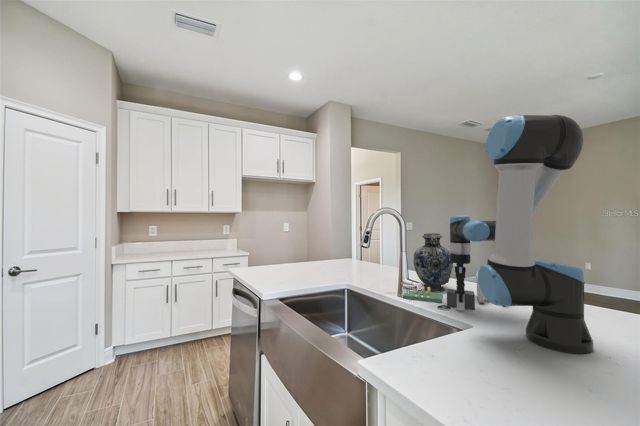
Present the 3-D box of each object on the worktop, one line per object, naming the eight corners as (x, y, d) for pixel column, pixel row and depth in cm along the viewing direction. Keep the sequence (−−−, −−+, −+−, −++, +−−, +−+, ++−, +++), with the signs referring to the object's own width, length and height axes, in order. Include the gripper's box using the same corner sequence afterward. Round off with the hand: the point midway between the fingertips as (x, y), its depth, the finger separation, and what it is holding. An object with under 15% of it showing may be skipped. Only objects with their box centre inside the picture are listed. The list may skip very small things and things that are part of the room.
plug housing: (473, 305, 117) (473, 291, 117) (474, 310, 112) (474, 294, 112) (447, 302, 122) (447, 288, 122) (446, 306, 116) (446, 292, 116)
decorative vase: (456, 295, 131) (455, 234, 132) (414, 293, 137) (413, 234, 138) (450, 285, 152) (449, 232, 152) (413, 283, 157) (412, 232, 158)
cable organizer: (508, 308, 114) (507, 279, 115) (478, 304, 119) (477, 276, 119) (502, 298, 128) (502, 272, 128) (475, 295, 133) (475, 270, 133)
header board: (441, 303, 121) (441, 291, 121) (402, 298, 127) (402, 287, 127) (442, 297, 130) (442, 286, 130) (406, 293, 136) (406, 282, 137)
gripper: (450, 249, 130) (450, 296, 130) (449, 256, 108) (449, 313, 107) (468, 250, 127) (469, 298, 126) (472, 257, 104) (472, 316, 104)
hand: (460, 305), depth 117 cm, fingers open, 12 cm apart
